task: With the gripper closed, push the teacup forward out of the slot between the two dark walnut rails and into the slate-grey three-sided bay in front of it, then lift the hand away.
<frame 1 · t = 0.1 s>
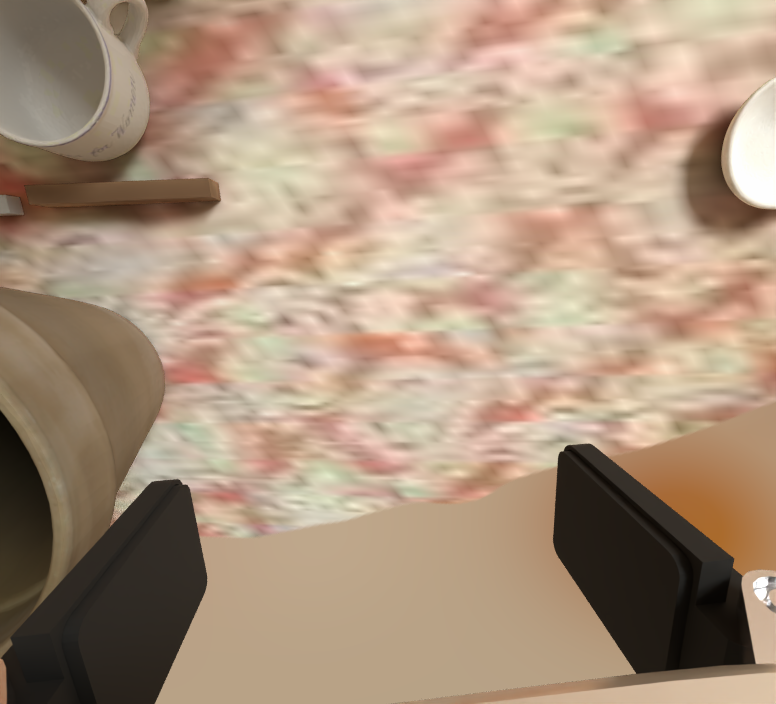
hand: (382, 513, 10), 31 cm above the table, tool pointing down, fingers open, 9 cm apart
plant pot: (89, 375, 39), on the table
teacup: (117, 94, 34), on the table
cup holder: (115, 93, 34), on the table
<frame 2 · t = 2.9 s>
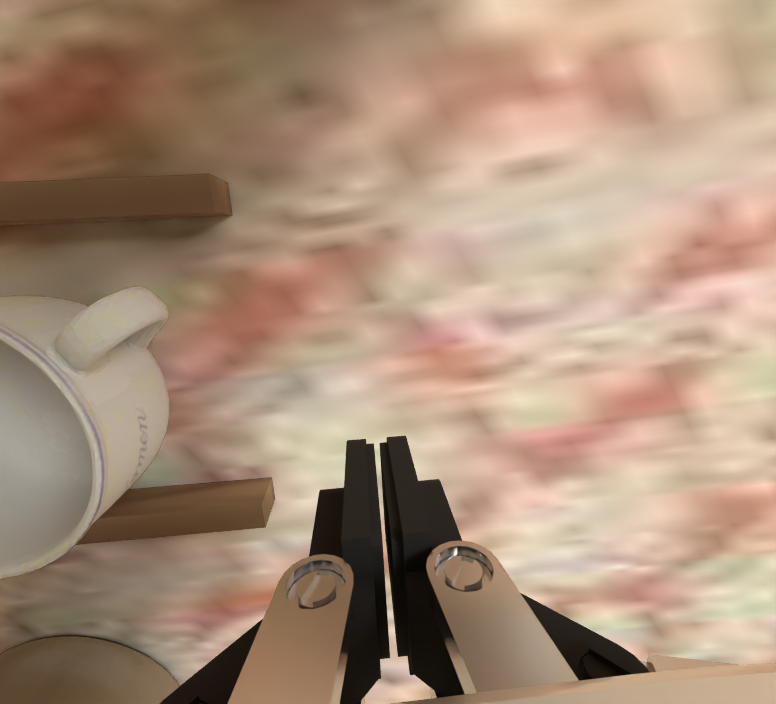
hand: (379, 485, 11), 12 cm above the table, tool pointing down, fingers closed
teacup: (116, 366, 21), on the table
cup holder: (113, 368, 21), on the table
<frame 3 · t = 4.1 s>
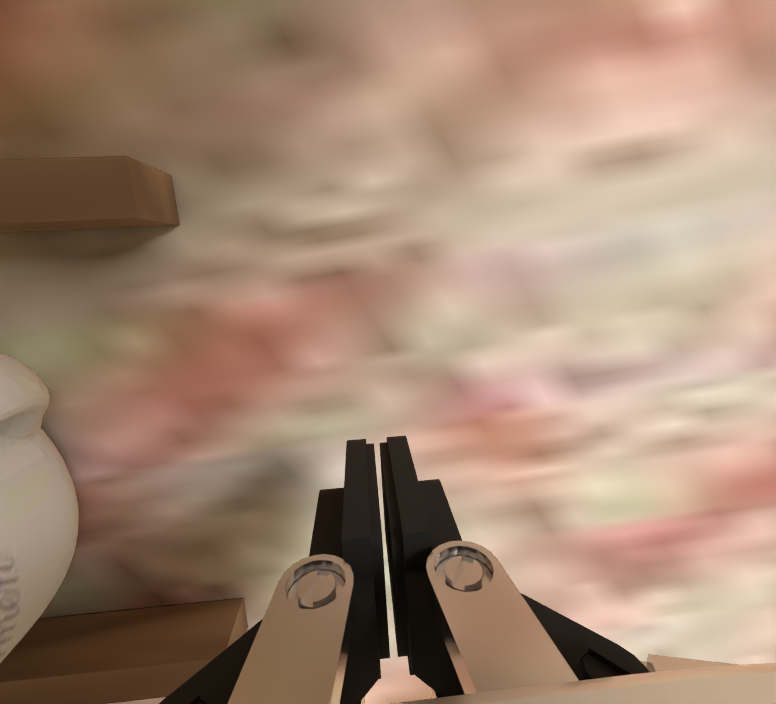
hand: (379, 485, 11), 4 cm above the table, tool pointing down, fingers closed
teacup: (9, 447, 14), on the table
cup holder: (2, 451, 14), on the table
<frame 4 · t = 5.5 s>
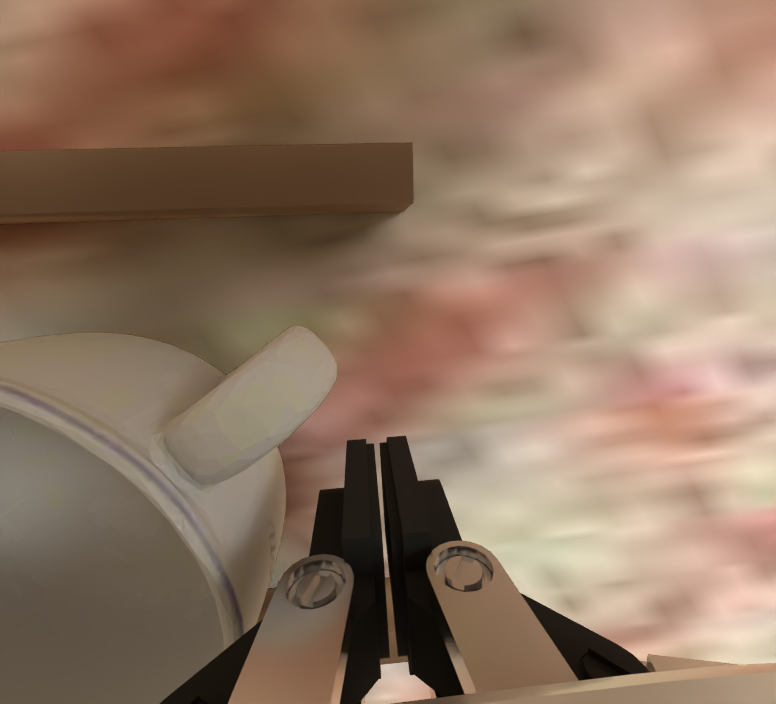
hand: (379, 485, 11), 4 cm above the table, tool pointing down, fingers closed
teacup: (195, 427, 15), on the table, touching gripper
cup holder: (210, 428, 15), on the table
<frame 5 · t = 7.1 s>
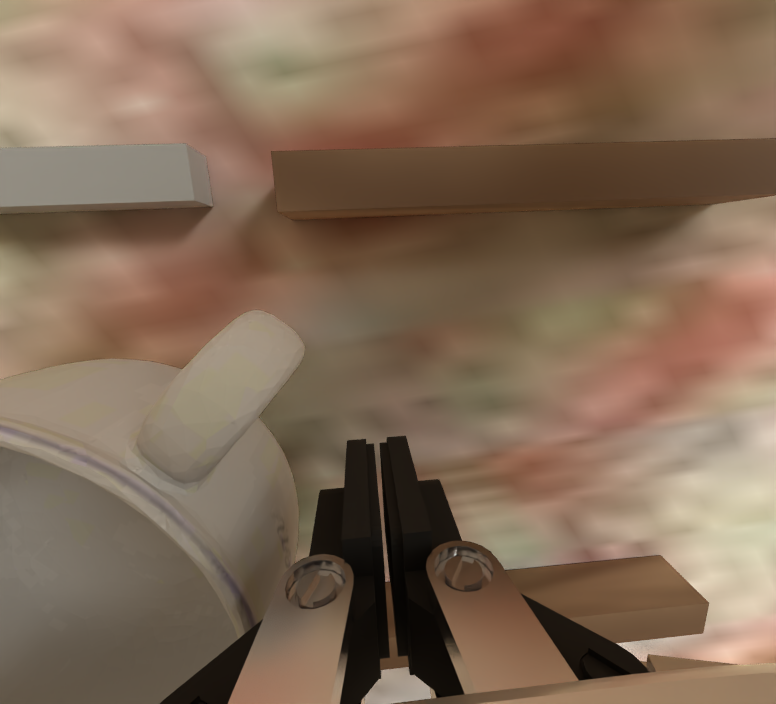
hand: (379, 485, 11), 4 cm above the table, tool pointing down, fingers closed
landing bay: (21, 447, 14), on the table
teacup: (200, 441, 15), on the table, touching gripper
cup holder: (504, 412, 15), on the table
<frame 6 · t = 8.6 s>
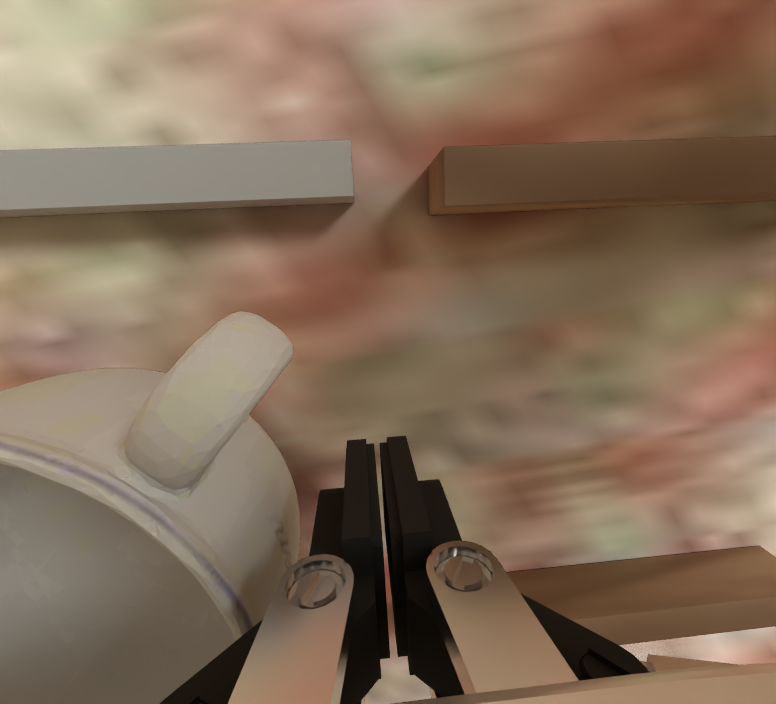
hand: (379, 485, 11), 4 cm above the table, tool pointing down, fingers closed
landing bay: (152, 441, 14), on the table
teacup: (200, 447, 15), on the table, touching gripper
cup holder: (618, 405, 16), on the table
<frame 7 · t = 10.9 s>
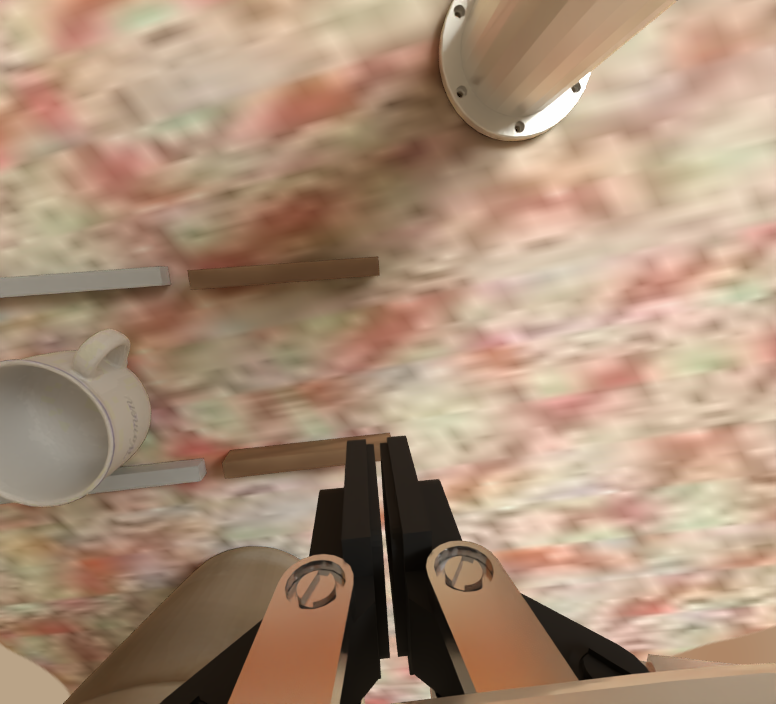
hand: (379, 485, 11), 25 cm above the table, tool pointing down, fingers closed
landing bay: (93, 384, 34), on the table
plant pot: (253, 605, 40), on the table
teacup: (115, 387, 34), on the table
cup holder: (301, 365, 35), on the table
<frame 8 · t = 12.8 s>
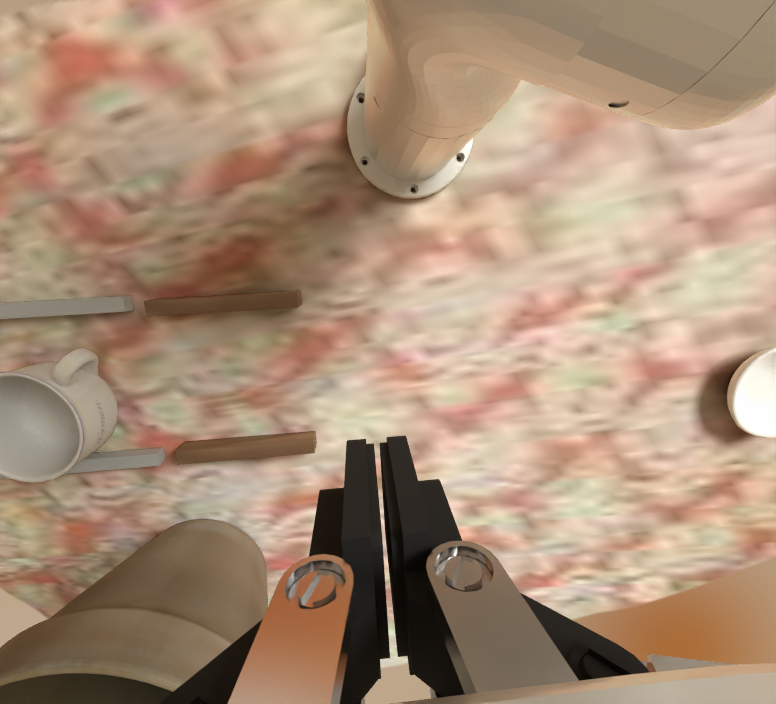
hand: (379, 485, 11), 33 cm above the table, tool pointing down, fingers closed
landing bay: (73, 387, 42), on the table
plant pot: (206, 566, 49), on the table
teacup: (90, 389, 43), on the table
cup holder: (241, 375, 44), on the table
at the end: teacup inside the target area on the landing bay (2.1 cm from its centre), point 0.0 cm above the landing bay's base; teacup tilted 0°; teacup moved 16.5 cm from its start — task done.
